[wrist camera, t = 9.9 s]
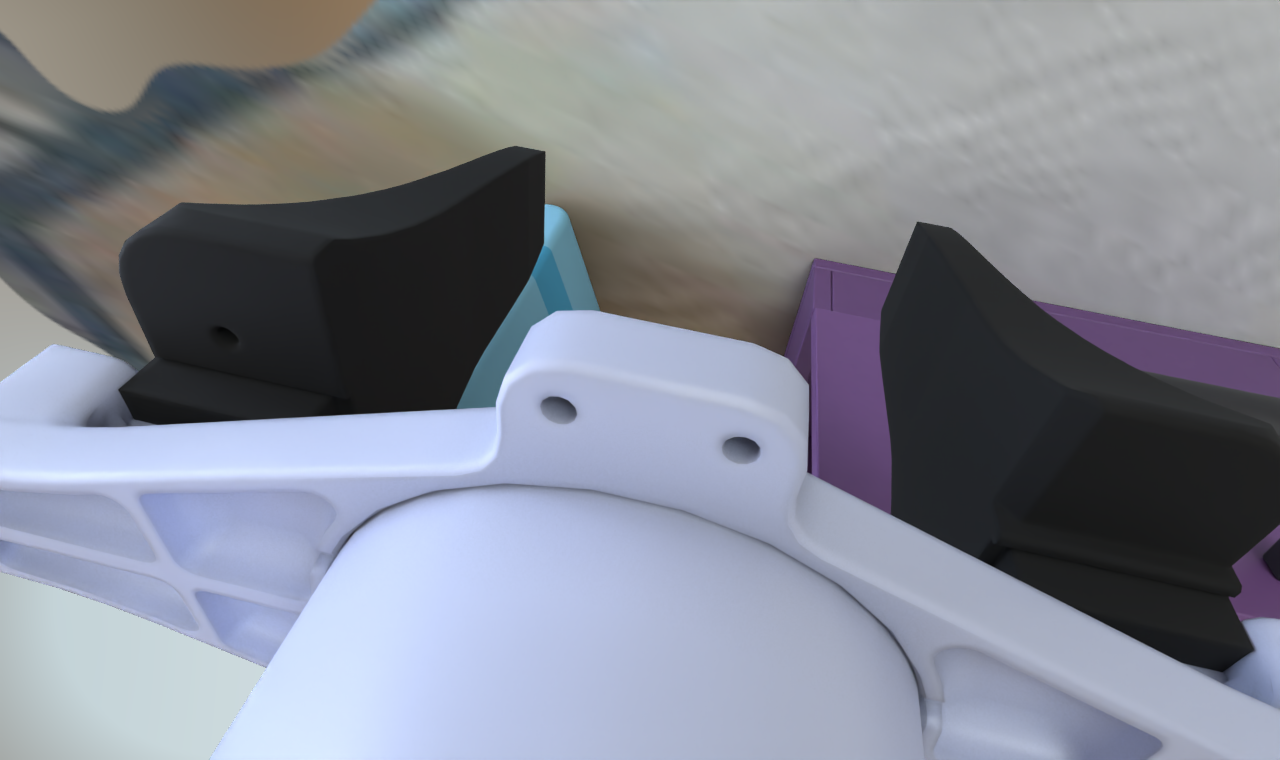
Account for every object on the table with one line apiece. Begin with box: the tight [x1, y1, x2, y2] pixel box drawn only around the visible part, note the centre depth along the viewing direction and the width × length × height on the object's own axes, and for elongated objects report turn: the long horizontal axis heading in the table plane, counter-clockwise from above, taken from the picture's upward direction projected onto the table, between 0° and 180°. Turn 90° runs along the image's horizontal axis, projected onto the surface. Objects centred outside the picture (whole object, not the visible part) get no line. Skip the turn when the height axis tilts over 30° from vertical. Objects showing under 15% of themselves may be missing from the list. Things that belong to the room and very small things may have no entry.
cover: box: [811, 308, 1280, 622], centre depth 16 cm, size 9×15×4 cm
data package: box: [457, 204, 600, 409], centre depth 23 cm, size 12×4×12 cm, turn 104°
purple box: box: [784, 258, 1280, 474], centre depth 25 cm, size 8×15×3 cm, turn 84°
